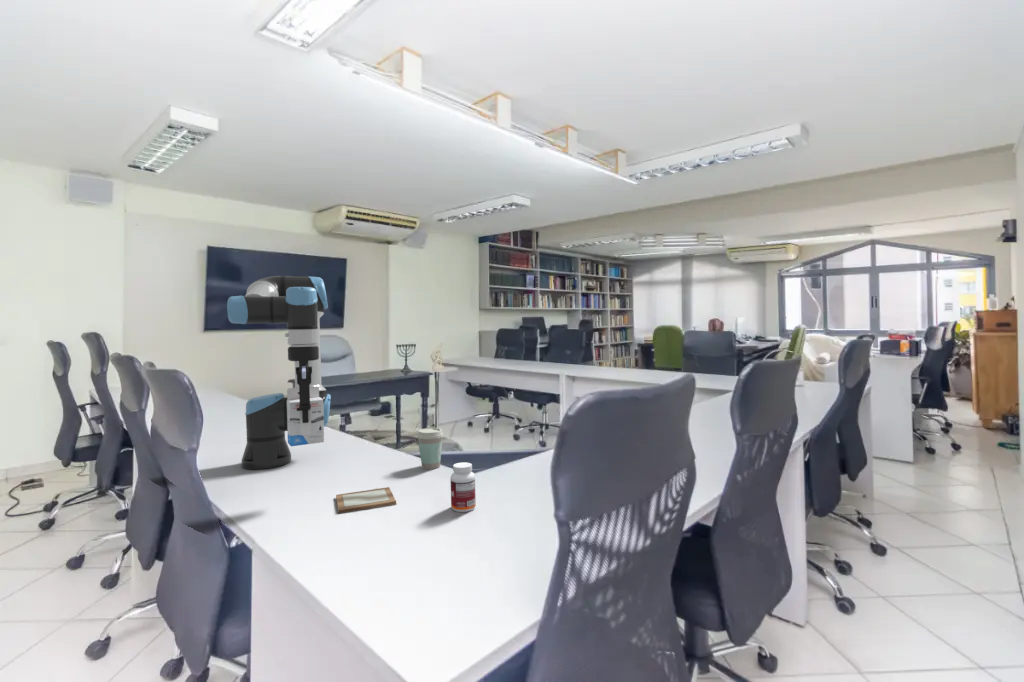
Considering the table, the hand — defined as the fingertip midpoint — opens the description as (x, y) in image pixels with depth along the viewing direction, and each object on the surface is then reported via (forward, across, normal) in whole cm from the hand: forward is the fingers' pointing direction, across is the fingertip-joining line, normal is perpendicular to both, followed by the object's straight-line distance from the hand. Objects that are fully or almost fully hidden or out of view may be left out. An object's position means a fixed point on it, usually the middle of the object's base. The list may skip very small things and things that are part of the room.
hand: (305, 431), depth 128 cm
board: (+18, +9, +14) cm, 24 cm away
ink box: (+3, 0, 0) cm, 3 cm away
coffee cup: (+19, -14, +37) cm, 44 cm away
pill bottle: (+18, +25, +36) cm, 47 cm away
